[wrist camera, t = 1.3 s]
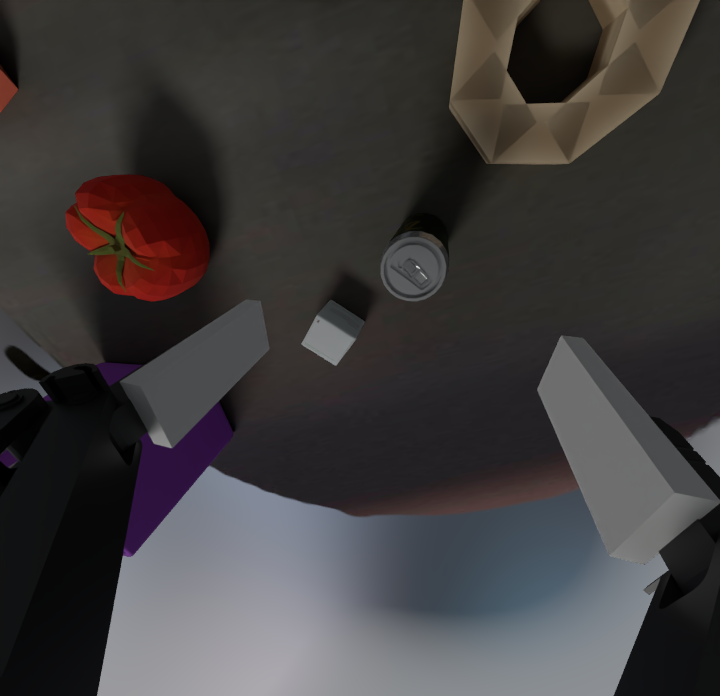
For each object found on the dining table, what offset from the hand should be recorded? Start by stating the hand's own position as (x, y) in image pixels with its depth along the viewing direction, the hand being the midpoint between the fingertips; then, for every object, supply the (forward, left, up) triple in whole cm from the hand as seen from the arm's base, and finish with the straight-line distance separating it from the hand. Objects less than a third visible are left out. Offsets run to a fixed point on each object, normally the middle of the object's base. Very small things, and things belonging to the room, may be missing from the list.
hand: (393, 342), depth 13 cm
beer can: (0, 0, -23) cm, 23 cm away
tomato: (+1, -32, -23) cm, 39 cm away
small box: (+12, -10, -23) cm, 28 cm away
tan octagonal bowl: (-14, +8, -23) cm, 28 cm away
